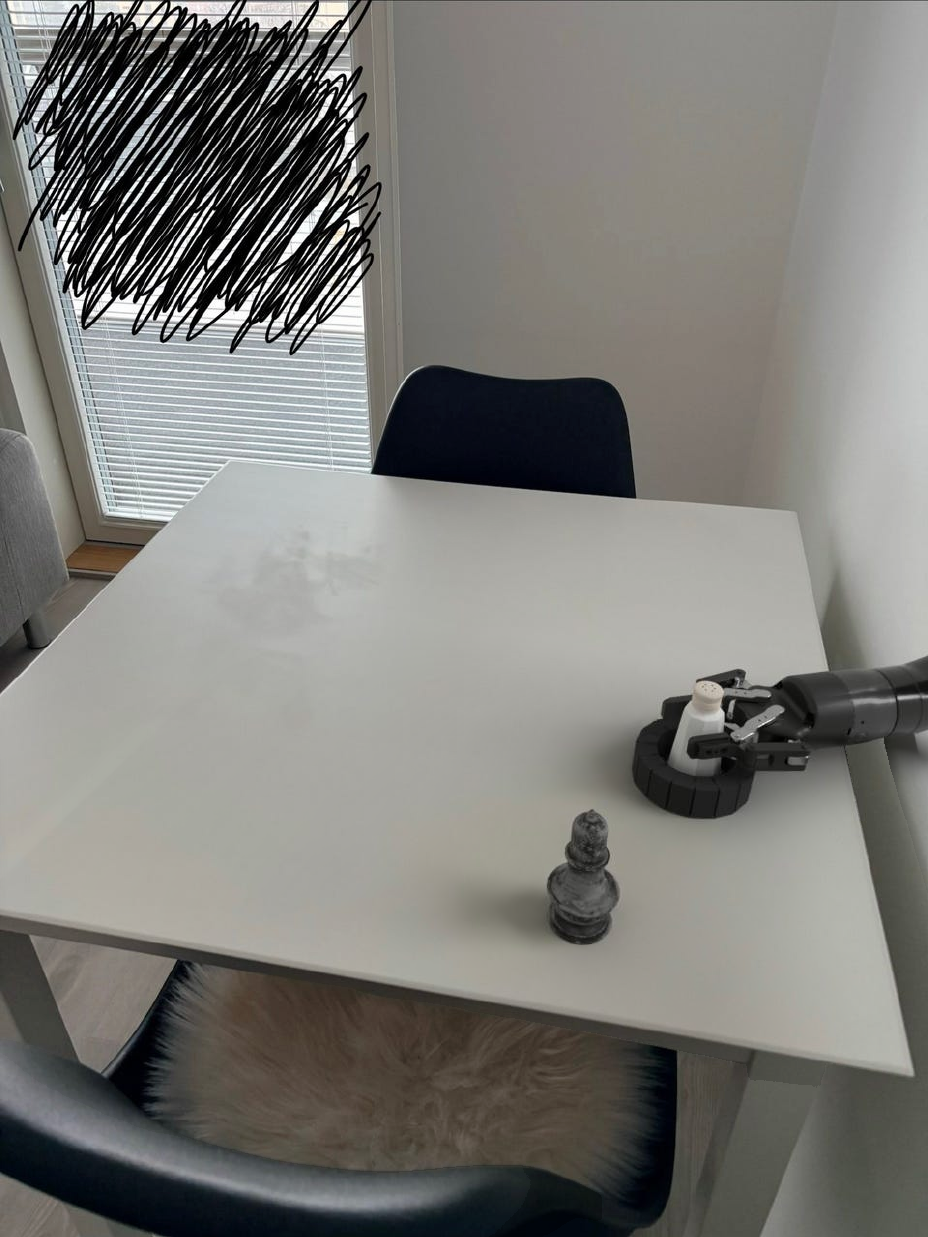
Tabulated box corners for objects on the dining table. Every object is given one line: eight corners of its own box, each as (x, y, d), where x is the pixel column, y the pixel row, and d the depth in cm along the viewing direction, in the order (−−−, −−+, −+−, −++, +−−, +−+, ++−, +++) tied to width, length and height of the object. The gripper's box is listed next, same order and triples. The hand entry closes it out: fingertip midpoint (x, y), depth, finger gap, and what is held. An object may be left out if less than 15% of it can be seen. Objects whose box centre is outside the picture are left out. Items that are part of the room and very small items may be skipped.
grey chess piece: (536, 936, 71) (545, 826, 65) (553, 883, 76) (563, 776, 69) (608, 956, 69) (624, 845, 63) (620, 900, 74) (637, 793, 68)
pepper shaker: (663, 791, 86) (678, 700, 80) (665, 756, 90) (679, 668, 85) (720, 800, 85) (740, 708, 79) (719, 765, 89) (737, 675, 84)
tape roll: (772, 781, 87) (779, 754, 86) (706, 836, 81) (712, 808, 79) (677, 728, 95) (682, 702, 93) (609, 774, 88) (612, 747, 86)
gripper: (802, 639, 91) (650, 655, 88) (888, 721, 79) (716, 744, 76) (788, 697, 95) (641, 716, 92) (867, 785, 83) (702, 809, 80)
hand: (676, 728), depth 84 cm, fingers open, 5 cm apart
